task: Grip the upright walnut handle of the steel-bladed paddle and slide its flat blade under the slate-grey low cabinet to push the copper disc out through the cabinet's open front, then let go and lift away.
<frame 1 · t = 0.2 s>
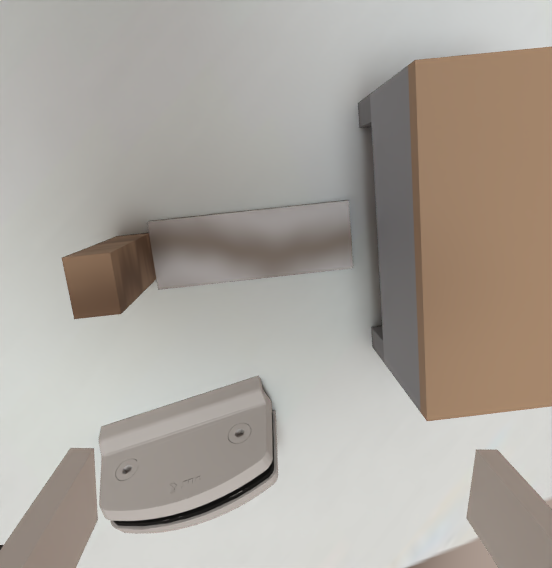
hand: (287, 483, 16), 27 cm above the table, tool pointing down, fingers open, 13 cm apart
low cabinet: (420, 226, 42), on the table
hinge: (194, 433, 45), on the table
blade tool: (137, 256, 41), on the table
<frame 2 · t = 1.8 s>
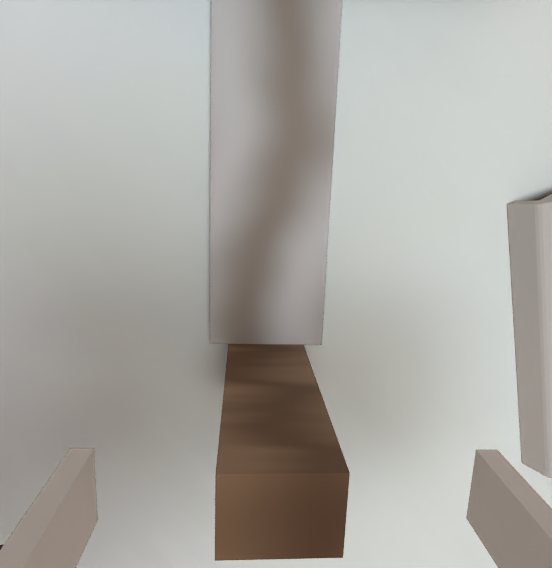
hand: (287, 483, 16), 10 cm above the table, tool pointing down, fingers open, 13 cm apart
blade tool: (264, 364, 26), on the table
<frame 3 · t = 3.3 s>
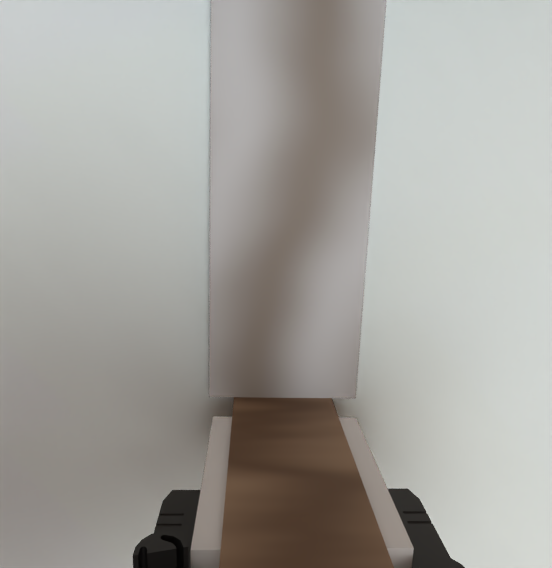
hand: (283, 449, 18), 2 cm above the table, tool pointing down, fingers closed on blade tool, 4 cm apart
blade tool: (280, 421, 20), on the table, touching gripper
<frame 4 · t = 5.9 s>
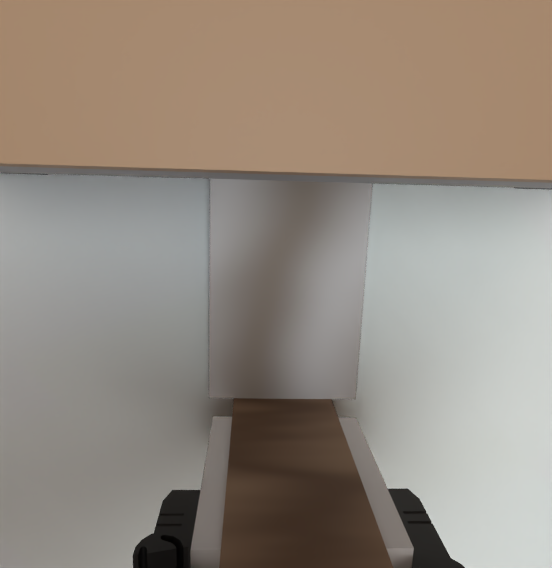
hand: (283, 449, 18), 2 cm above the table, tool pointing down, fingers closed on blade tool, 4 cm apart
low cabinet: (292, 40, 17), on the table
blade tool: (280, 422, 20), on the table, touching copper disc, gripper
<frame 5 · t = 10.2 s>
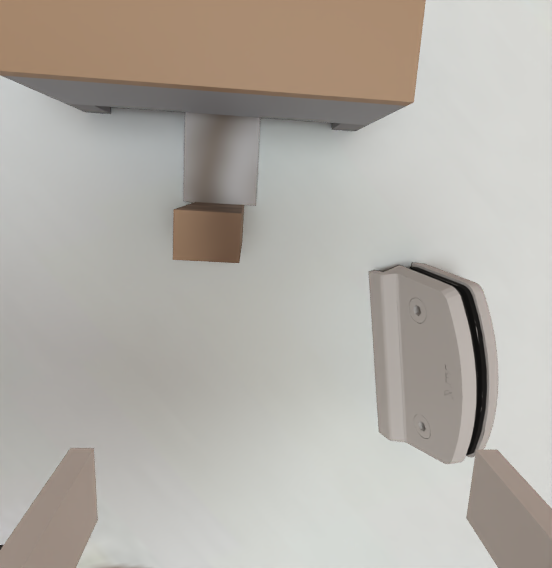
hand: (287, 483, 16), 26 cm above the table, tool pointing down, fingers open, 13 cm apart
low cabinet: (225, 55, 37), on the table
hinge: (413, 348, 43), on the table
blade tool: (219, 220, 39), on the table
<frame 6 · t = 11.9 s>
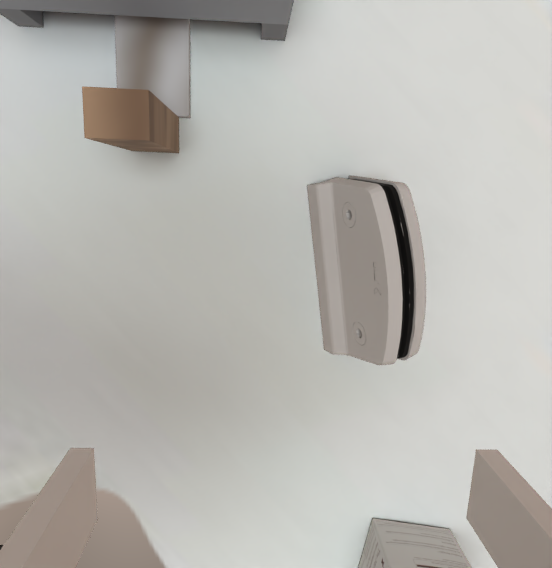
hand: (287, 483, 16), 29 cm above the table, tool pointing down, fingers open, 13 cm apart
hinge: (355, 264, 44), on the table
supplement box: (400, 556, 51), on the table
blade tool: (155, 134, 40), on the table
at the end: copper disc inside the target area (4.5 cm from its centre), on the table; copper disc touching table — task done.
